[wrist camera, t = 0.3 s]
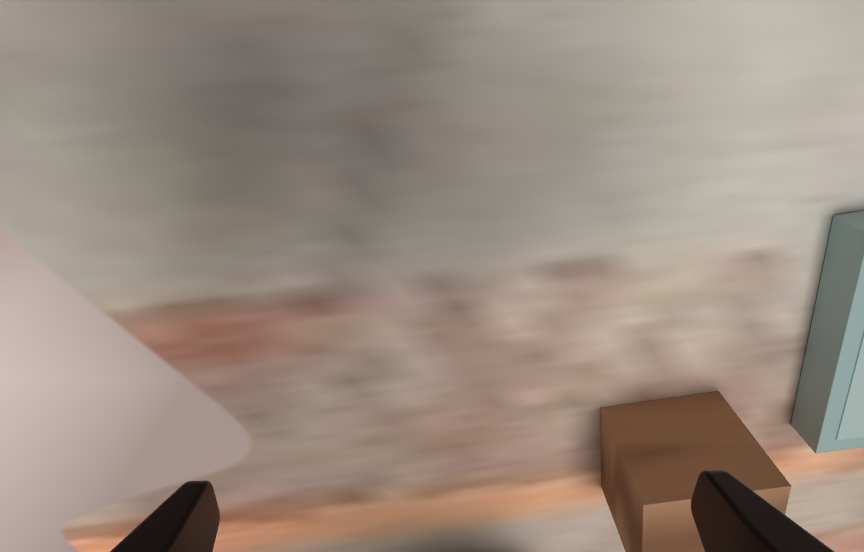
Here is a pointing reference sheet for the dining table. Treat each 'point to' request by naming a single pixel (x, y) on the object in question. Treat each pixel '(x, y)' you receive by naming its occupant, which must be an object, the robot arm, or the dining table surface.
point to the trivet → (836, 346)
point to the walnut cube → (676, 466)
